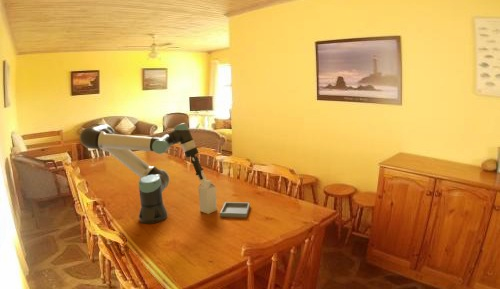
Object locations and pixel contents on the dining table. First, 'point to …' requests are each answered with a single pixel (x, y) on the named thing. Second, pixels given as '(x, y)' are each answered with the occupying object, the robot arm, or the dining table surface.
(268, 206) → the dining table surface
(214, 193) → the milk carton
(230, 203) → the gray square tray
